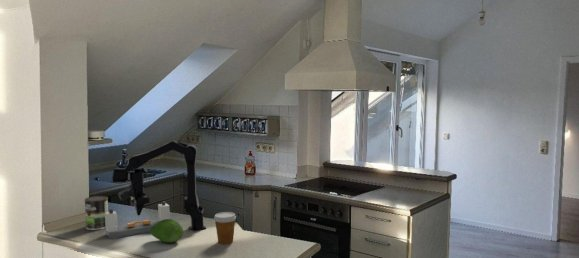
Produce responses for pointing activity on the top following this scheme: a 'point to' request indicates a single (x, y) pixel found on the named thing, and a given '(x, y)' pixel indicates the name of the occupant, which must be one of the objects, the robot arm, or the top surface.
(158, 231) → the fruit
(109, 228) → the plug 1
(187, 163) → the robot arm
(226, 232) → the disposable coffee cup
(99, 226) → the coffee can
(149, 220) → the orange dumbbell
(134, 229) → the grey board
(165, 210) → the plug
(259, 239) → the top surface
